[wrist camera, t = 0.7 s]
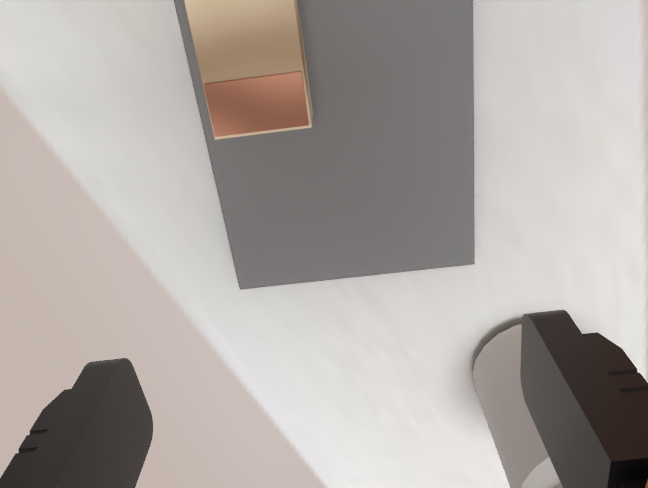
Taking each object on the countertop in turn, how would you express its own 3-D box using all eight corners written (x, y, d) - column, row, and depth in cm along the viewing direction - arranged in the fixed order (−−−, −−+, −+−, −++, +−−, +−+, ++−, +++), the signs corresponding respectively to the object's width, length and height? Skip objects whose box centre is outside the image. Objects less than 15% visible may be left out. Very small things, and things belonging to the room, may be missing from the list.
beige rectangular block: (189, -50, 25) (171, -52, 22) (288, -64, 25) (283, -69, 22) (225, 123, 29) (213, 141, 26) (312, 112, 28) (311, 129, 25)
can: (469, 408, 38) (525, 581, 27) (469, 318, 35) (533, 475, 24) (579, 399, 38) (680, 571, 27) (591, 307, 34) (711, 462, 24)
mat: (154, -96, 25) (152, -97, 24) (469, -143, 24) (472, -145, 24) (241, 285, 34) (239, 289, 33) (472, 259, 33) (474, 264, 32)
